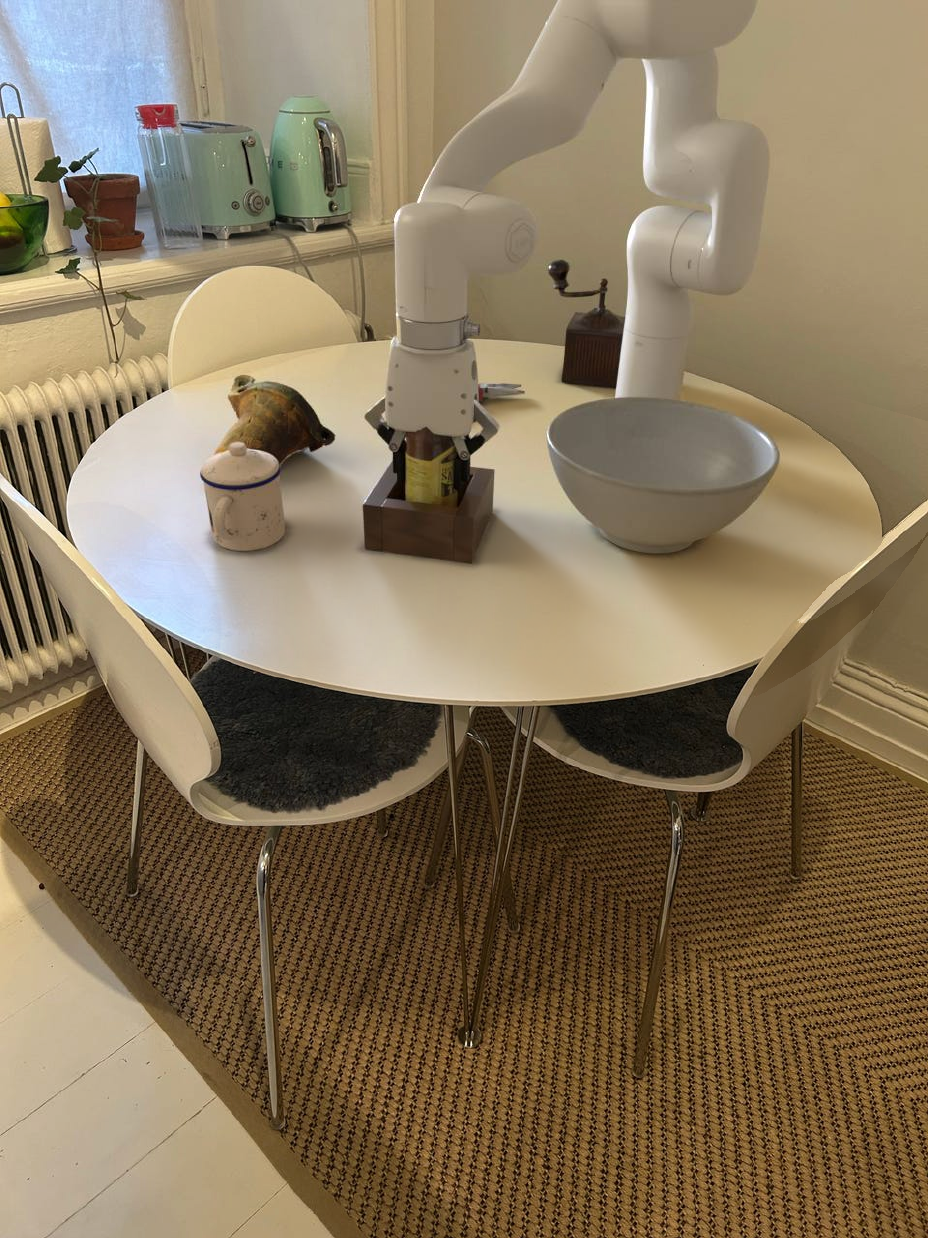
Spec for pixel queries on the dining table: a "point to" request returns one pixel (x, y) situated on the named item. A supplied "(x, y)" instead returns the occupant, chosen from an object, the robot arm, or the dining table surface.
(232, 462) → the teacup with lid
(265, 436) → the pot
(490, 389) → the pliers
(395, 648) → the dining table surface
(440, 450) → the sauce bottle
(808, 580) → the dining table surface
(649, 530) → the decorative bowl
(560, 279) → the manual coffee grinder
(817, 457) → the dining table surface
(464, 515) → the holder
